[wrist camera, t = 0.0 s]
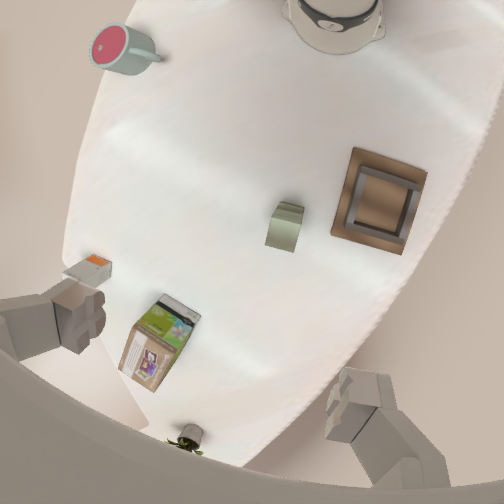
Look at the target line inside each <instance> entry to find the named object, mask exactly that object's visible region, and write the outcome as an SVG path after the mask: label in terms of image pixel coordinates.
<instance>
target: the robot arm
mask: <svg viewBox="0 0 504 504" xmlns="http://www.w3.org/2000/svg"><path fill="white" fill-rule="evenodd" d="M281 12H282V15H283V16H284V17H285V18H286V19H287V20H289V21H290V22H291V23H292V24H293V25H294V27H295V29H296V31H297V33H298V34H299V36H300V37H301V38H302V39H303V40H304V41H305V42H306V43H307V44H308V45H310V46H311V47H313V48H315V49H317V50H319V51H322V52H325V53H329V54H348V53H352V52H355V51H357V50H359V49H361V48H362V47H364V46H365V45H366V44H367V43H369V42H371V41H375V40H379V39H382V38H383V37H384V36H385V22H384V12H383V3H382V0H286V1H285V3H284V5H283V7H282V10H281ZM379 26H380V28H378V27H379ZM104 303H105V296H104V293H103V292H102V291H100V290H98V289H95V288H93V287H91V286H89V285H87V284H84V283H82V282H79V281H77V280H75V279H73V278H66V279H64V280H63V281H61V282H60V283H58V284H57V285H55V286H54V287H52V288H51V289H49V290H48V291H46V292H44V293H43V294H41V295H39V294H34V295H27V296H21V297H15V298H8V299H2V300H0V504H504V480H498V481H493V482H487V483H481V484H474V485H466V486H457V487H451V485H450V480H449V475H448V470H447V465H446V461H445V457H444V456H443V455H442V454H441V453H440V452H439V450H438V449H437V448H436V447H435V446H434V445H433V444H432V443H431V442H430V441H429V440H428V439H427V438H426V436H425V435H424V434H423V433H422V432H421V431H420V430H419V429H418V428H417V427H416V426H415V425H414V424H413V422H411V420H410V419H409V418H408V417H407V416H406V415H405V414H404V413H403V412H402V411H400V410H397V405H396V400H395V395H394V391H393V386H392V382H391V377H390V375H389V374H384V373H378V372H370V371H365V370H360V369H355V368H349V367H344V368H343V369H342V371H341V373H340V375H339V383H337V384H336V385H334V386H333V388H332V390H331V392H330V395H329V398H328V402H327V414H328V415H329V419H328V421H327V422H326V437H325V438H326V439H328V440H333V441H338V442H344V443H350V445H351V447H352V449H353V451H354V452H355V454H356V456H357V458H358V459H359V461H360V463H361V464H362V466H363V468H364V470H365V471H366V473H367V475H368V477H369V478H370V480H371V482H372V484H373V486H372V487H371V488H357V487H346V486H337V485H327V484H320V483H313V482H307V481H301V480H294V479H289V478H284V477H279V476H274V475H270V474H265V473H261V472H256V471H252V470H248V469H244V468H241V467H237V466H233V465H230V464H226V463H223V462H219V461H216V460H213V459H210V458H206V457H203V456H200V455H197V454H194V453H192V452H189V451H186V450H183V449H180V448H178V447H175V446H172V445H170V444H167V443H165V442H162V441H160V440H157V439H155V438H152V437H150V436H148V435H145V434H143V433H141V432H139V431H136V430H134V429H132V428H130V427H128V426H125V425H123V424H121V423H119V422H117V421H115V420H113V419H111V418H109V417H107V416H105V415H103V414H101V413H99V412H98V411H96V410H94V409H92V408H90V407H88V406H87V405H85V404H83V403H81V402H79V401H77V400H75V399H74V398H73V397H71V396H69V395H67V394H66V393H64V392H63V391H61V390H59V389H58V388H56V387H54V386H53V385H51V384H50V383H48V382H47V381H45V380H44V379H42V378H40V377H39V376H38V375H36V374H35V373H33V372H32V371H30V370H29V369H28V368H26V367H25V366H23V365H22V364H20V363H19V361H22V360H25V359H27V358H30V357H33V356H36V355H38V354H41V353H44V352H47V351H50V350H52V349H55V348H58V347H60V345H61V346H63V347H65V348H67V349H68V350H71V351H72V352H74V353H76V354H80V353H81V352H82V351H83V350H84V349H85V348H86V347H87V346H88V345H89V343H90V339H92V338H96V337H97V336H98V335H99V334H100V333H101V332H102V330H103V328H104V326H105V321H106V313H105V311H104V310H103V308H102V306H103V304H104Z"/></svg>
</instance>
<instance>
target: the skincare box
mask: <svg viewBox="0 0 504 504" xmlns="http://www.w3.org/2000/svg"><path fill="white" fill-rule="evenodd" d="M111 267H112V262H109V261H107V260H105V259H103V258H100V257H98V256H96V255H94V254H93V255H91V256H90V257H88V258H86V259H84V260H83V261H81V262H79V263H77V264H76V265H74V266H72V267H71V268H69V269H67V270H66V271H64V272H62V281H63V280H64V279H66V278H73V279H75V280H77V281H79V282H82V283H84V284H87V285H89V286H91V287H93V288H96V287H98V286H99V285H100V284H102V283H103V282H105V281H106V280H107V279H109V278H110V277H111Z"/></svg>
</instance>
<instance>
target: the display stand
mask: <svg viewBox="0 0 504 504" xmlns="http://www.w3.org/2000/svg"><path fill="white" fill-rule="evenodd" d="M427 173H428V172H425V171H422V170H420V169H417V168H414V167H411V166H409V165H406V164H403V163H400V162H397V161H394V160H391V159H388V158H385V157H382V156H379V155H376V154H373V153H370V152H367V151H363V150H360V149H357V148H353V152H352V156H351V160H350V164H349V168H348V172H347V176H346V179H345V183H344V187H343V191H342V194H341V198H340V202H339V205H338V209H337V212H336V216H335V219H334V223H333V226H332V230H331V235H332V236H336V237H339V238H343V239H346V240H350V241H353V242H357V243H360V244H364V245H367V246H371V247H374V248H378V249H381V250H384V251H388V252H391V253H395V254H398V255H402V252H403V250H404V247H405V244H406V241H407V238H408V235H409V232H410V229H411V226H412V223H413V220H414V217H415V214H416V211H417V208H418V205H419V201H420V198H421V194H422V191H423V188H424V184H425V180H426V177H427Z"/></svg>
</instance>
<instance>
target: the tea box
mask: <svg viewBox="0 0 504 504" xmlns="http://www.w3.org/2000/svg"><path fill="white" fill-rule="evenodd" d="M200 317H201V316H200V315H198V314H197V313H195V312H193V311H192V310H190V309H189V308H187V307H185V306H184V305H182V304H181V303H179V302H177V301H176V300H174V299H173V298H171V297H169V296H168V295H166V294H164V295H163V296H162V297H161V298H160V299H159V300H158V301H157V302H156V303H155V304H154V305H153V306H152V307H151V308H150V309H149V310H148V311H147V312H146V313H145V314H144V315H143V316H142V317H141V318H140V319H139V320H138V321H137V322H136V323H135V325H134V326H133V327H132V329H131V331H130V334H129V337H128V340H127V343H126V346H125V349H124V352H123V355H122V358H121V360H120V364H119V367H118V369H119V370H120V371H121V372H123V373H124V374H126V375H127V376H129V377H130V378H132V379H133V380H135V381H136V382H138V383H139V384H141V385H142V386H144V387H145V388H147V389H148V390H150V391H152V392H153V393H154V392H155V391H156V389H157V388H158V387H159V385H160V384H161V382H162V381H163V379H164V378H165V376H166V375H167V373H168V372H169V370H170V369H171V367H172V366H173V364H174V363H175V361H176V360H177V358H178V356H179V355H180V353H181V351H182V349H183V348H184V346H185V344H186V342H187V341H188V339H189V337H190V335H191V334H192V332H193V330H194V328H195V326H196V325H197V323H198V321H199V319H200Z"/></svg>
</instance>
